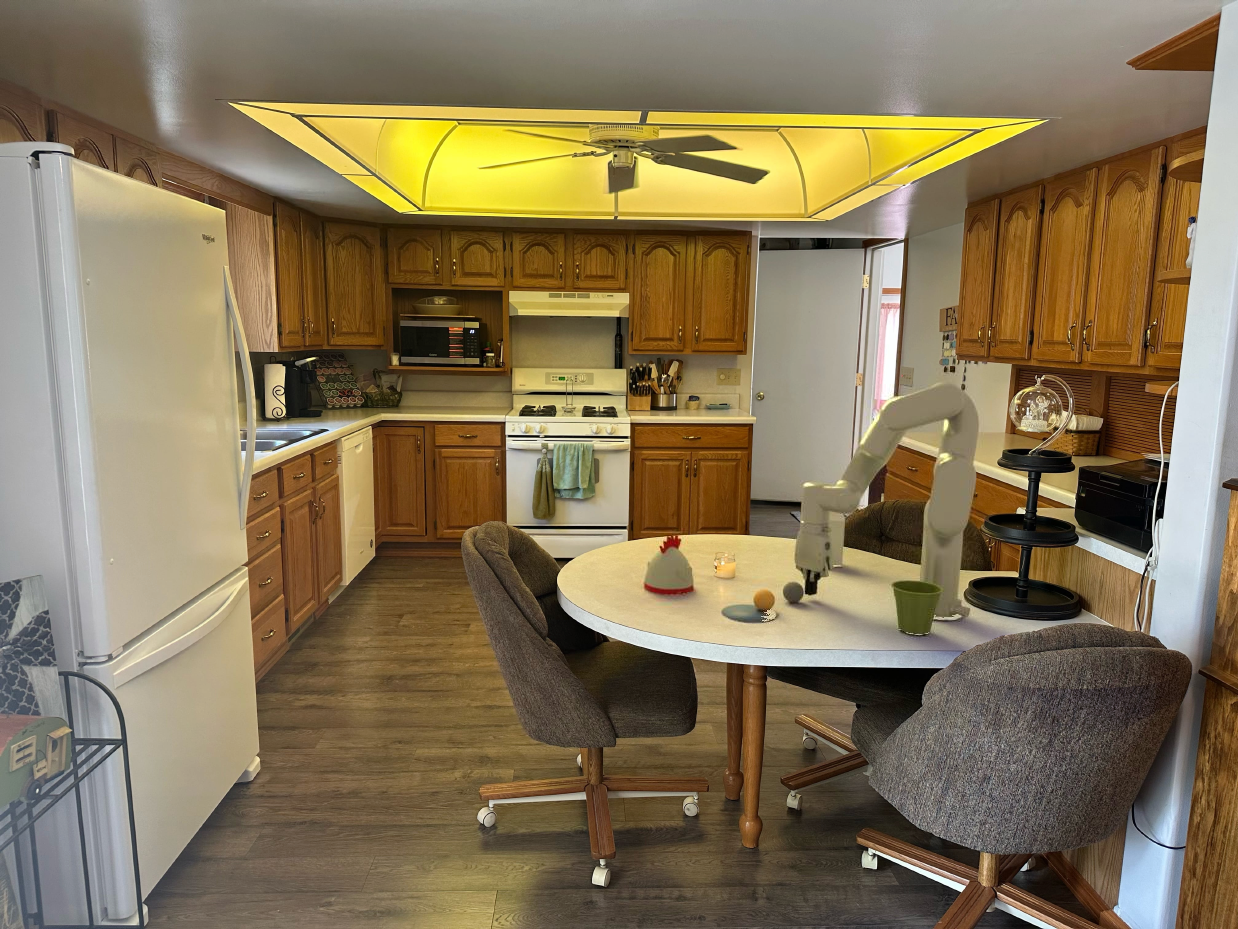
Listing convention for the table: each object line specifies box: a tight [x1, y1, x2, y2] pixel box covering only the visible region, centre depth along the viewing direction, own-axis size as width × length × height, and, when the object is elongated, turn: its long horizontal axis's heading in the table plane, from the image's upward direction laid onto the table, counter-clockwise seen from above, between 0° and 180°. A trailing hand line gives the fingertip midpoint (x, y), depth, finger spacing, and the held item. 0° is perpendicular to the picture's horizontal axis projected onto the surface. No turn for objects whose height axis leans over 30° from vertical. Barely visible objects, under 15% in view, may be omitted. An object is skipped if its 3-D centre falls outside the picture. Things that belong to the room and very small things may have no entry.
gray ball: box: [782, 581, 805, 603], centre depth 223 cm, size 6×6×6 cm
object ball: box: [752, 588, 776, 611], centre depth 216 cm, size 6×6×6 cm
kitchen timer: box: [643, 534, 694, 596], centre depth 233 cm, size 14×14×15 cm
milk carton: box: [829, 511, 846, 566], centre depth 262 cm, size 7×7×19 cm
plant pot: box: [890, 580, 943, 635], centre depth 202 cm, size 12×12×11 cm
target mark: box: [721, 603, 770, 623], centre depth 213 cm, size 14×14×1 cm
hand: (810, 594), depth 226 cm, fingers closed
